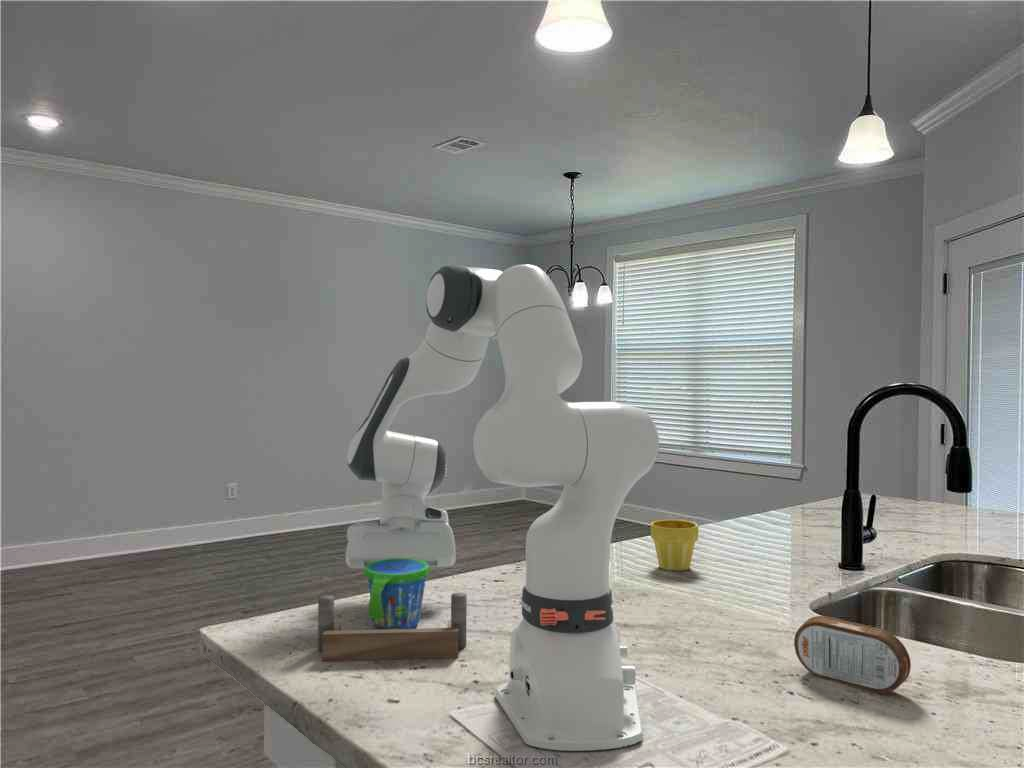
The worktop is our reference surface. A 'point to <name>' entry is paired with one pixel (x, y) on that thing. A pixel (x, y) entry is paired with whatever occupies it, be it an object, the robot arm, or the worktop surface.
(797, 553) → the worktop surface
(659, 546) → the plant pot
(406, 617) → the snack cup
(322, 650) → the cradle
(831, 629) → the tin
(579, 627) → the robot arm
